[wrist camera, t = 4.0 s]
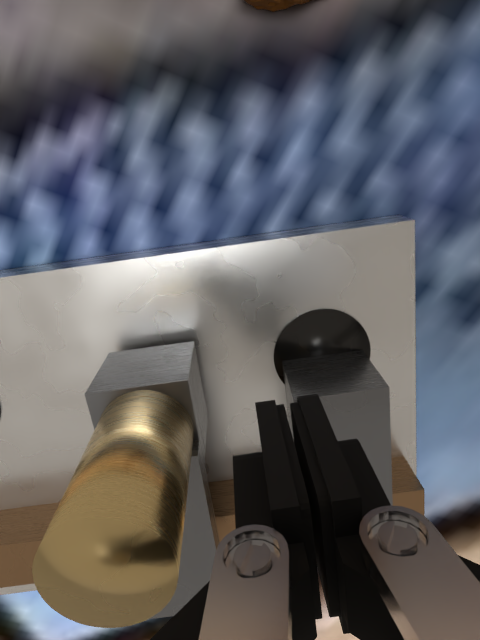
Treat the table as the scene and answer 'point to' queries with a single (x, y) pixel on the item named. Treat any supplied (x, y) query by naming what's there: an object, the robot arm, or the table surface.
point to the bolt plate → (211, 356)
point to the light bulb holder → (135, 497)
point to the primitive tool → (274, 4)
